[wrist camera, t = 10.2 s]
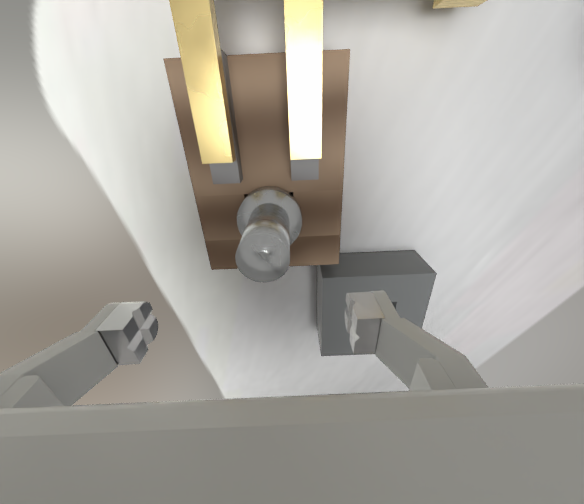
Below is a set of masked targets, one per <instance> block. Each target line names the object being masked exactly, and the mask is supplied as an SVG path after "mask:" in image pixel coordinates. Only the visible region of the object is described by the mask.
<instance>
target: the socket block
mask: <svg viewBox="0 0 584 504" xmlns="http://www.w3.org/2000/svg"><path fill="white" fill-rule="evenodd" d="M221 56H222V63H223V70H224V77H225V84H226V92H227V99H228V106H229V113H230V120H231V127H232V134H233V142H234V149H235V156H236V160H235V161H234V162H232V163H211V164H202V160H201V155H200V150H199V145H198V140H197V135H196V130H195V125H194V120H193V116H192V111H191V106H190V101H189V96H188V91H187V86H186V81H185V76H184V71H183V66H182V61H181V58H166V59H164V63H165V68H166V72H167V77H168V81H169V85H170V90H171V94H172V99H173V103H174V107H175V112H176V116H177V120H178V125H179V129H180V134H181V138H182V142H183V147H184V151H185V155H186V160H187V164H188V169H189V173H190V177H191V182H192V186H193V190H194V195H195V199H196V204H197V208H198V212H199V217H200V221H201V225H202V230H203V234H204V239H205V243H206V247H207V252H208V256H209V260H210V265H211V269H212V270H214V269H237V268H238V267H237V264H236V260H235V254H236V251H237V248H238V245H239V243H240V240H241V238H242V235H241V234H240V232H239V229H238V226H237V213H238V210H239V207H240V206H241V204H242V202H243V200H244V199H245V197H246V196H247V195H248V194H249V193H250V192H252V191H253V190H255V189H258V188H260V187H265V186H273V187H278V188H281V189H284V190H285V191H287V192H293V197H294V198H295V199H296V201H297V202H298V204H299V207H300V210H301V216H302V227H301V231H300V233H299V235H298V237H297V239H296V240H295V241H294V242H293V243H292V244H291V245H290V264H289V266H307V265H330V264H339V250H340V231H341V212H342V193H343V173H344V154H345V135H346V116H347V97H348V78H349V59H350V49H342V50H323V51H322V136H321V158H317V159H296V160H291V157H290V134H289V111H288V87H287V64H286V52H283V53H264V54H244V55H226V54H225V53H224V52H223V51H222V50H221Z"/></svg>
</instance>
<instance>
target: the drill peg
mask: <svg viewBox="0 0 584 504" xmlns="http://www.w3.org/2000/svg"><path fill="white" fill-rule="evenodd" d="M237 226H238V229H239V232H240V234H241V235H242V238H241V240H240V243H239V245H238V248H237V251H236V254H235V260H236V264H237V267H238V269H239V270H240V272H241V273H242V274H243V275H244V276H246V277H247V278H249V279H251V280H254V281H257V282H271V281H274V280H277V279H278V278H280V277H281V276H283V275H284V274H285V272H286V271H287V269H288V267H289V264H290V245H291V244H292V243H293V242H294V241H295V240H296V239H297V237H298V235H299V233H300V231H301V227H302V216H301V210H300V207H299V204H298V202H297V201H296V199H295V198H294V197H293V196H292V195H291V194H290V193H289V192H287V191H285V190H284V189H281V188H278V187H273V186H265V187H260V188H258V189H255V190H253V191H252V192H250V193H249V194H248V195H247V196H246V197H245V199H244V200H243V202H242V204H241V206H240V207H239V210H238V213H237Z"/></svg>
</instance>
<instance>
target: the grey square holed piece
mask: <svg viewBox="0 0 584 504" xmlns="http://www.w3.org/2000/svg"><path fill="white" fill-rule="evenodd" d="M436 274H437V273H436V272H435V271H434V270H433V269H432V268H431V267H430V266H429V265H428V264H427V263H426V262H425V261H424V260H423V259H422V258H421V256H420V255H419V254H418V253H417V252H416V251H415V250H407V251H385V252H362V253H339V264H330V265H317V329H318V336H319V344H320V351H321V356H335V355H360V354H353V351H352V347H351V344H350V334H349V333H348V332H347V329H346V325H345V308H346V307H347V304H346V294H347V293H352V292H371V291H381V290H384V291H385V292H386V294H387V296H388V297H389V299H390V301H391V303H392V304H393V306H394V308H395V310H396V311H397V313H398V315H399V317H400V318H405V319H407V320H408V321H410V322H412V323H413V324H415V325H416V326H418V327H420V328H421V329H422V325H423V322H424V318H425V314H426V310H427V307H428V303H429V299H430V296H431V292H432V288H433V285H434V281H435V277H436Z"/></svg>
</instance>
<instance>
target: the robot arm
mask: <svg viewBox="0 0 584 504" xmlns="http://www.w3.org/2000/svg"><path fill="white" fill-rule="evenodd" d="M346 304H347V307H346V308H345V325H346V329H347V332H348V333H349V334H350V344H351V347H352V351H353V354H375V355H376V356H377V357H378V358H379V359H380V360H381V361H382V362H383V363H384V364H385V365H386V366H387V367H388V368H389V369H390V370H391V371H392V372H393V373H394V374H395V375H396V376H397V377H398V378H399V379H400V380H401V381H402V382H403V383H404V384H405V385H406V386H407V387H408V388H409V391H399V392H375V393H351V394H328V395H305V396H282V397H259V398H235V399H213V400H191V401H190V400H189V401H165V402H143V403H119V404H96V405H73V404H74V403H75V402H76V401H77V400H78V399H80V398H81V397H82V396H83V395H84V394H86V393H87V392H88V391H89V390H90V389H92V388H93V387H94V386H95V385H96V384H98V383H99V382H100V381H101V380H102V379H103V378H104V377H106V376H107V375H108V374H109V373H111V372H112V371H113V370H114V369H115V368H116V367H118V365H127V364H140V362H141V361H142V359H143V357H144V356H145V354H146V352H147V350H148V347H147V345H148V344H149V343H150V342H152V341H153V340H154V339H155V337H156V335H157V331H158V321H157V319H156V317H155V316H153V315H152V314H151V312H152V310H153V309H152V307H151V305H150V303H148V302H122V303H121V302H119V303H109V304H107V305H105V307H103V309H102V310H101V311H100V312H99V313H98V314H97V315H96V316H95V317H94V318H93V319H92V320H91V321H90V322H89V323H88V324H87V325H86V326H85V327H84V328H83V329H82V330H81V331H80V332H76V333H74V334H72V335H70V336H68V337H66V338H64V339H62V340H61V341H59V342H57V343H55V344H53V345H51V346H49V347H48V348H46V349H44V350H42V351H41V352H38V353H37V354H35V355H33V356H31V357H29V358H27V359H25V360H24V361H22V362H20V363H18V364H16V365H14V366H12V367H11V368H9V369H7V370H5V371H3V372H1V373H0V504H584V383H583V384H560V385H537V386H517V387H516V386H515V387H495V388H494V387H492V388H489V387H488V386H487V385H486V383H485V382H484V381H483V379H482V378H481V377H480V375H479V374H478V372H477V371H476V370H475V368H474V367H473V366H472V364H471V363H470V362H469V360H468V359H467V358H466V356H465V355H463V354H462V353H460V352H458V351H457V350H455V349H453V348H452V347H450V346H449V345H447V344H445V343H444V342H442V341H441V340H439V339H437V338H436V337H434V336H433V335H431V334H429V333H428V332H426V331H424V330H423V329H421V328H420V327H418V326H416V325H415V324H413V323H412V322H410V321H408V320H407V319H405V318H400V317H399V315H398V313H397V311H396V310H395V308H394V306H393V304H392V303H391V301H390V299H389V297H388V296H387V294H386V292H385V291H384V290H381V291H371V292H352V293H347V294H346ZM72 405H73V406H72Z"/></svg>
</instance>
